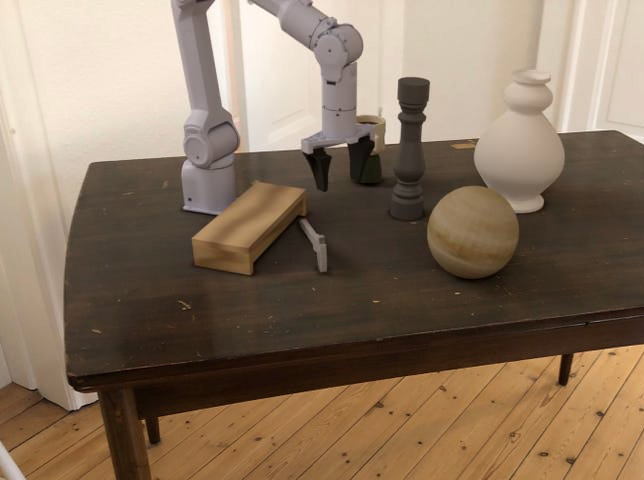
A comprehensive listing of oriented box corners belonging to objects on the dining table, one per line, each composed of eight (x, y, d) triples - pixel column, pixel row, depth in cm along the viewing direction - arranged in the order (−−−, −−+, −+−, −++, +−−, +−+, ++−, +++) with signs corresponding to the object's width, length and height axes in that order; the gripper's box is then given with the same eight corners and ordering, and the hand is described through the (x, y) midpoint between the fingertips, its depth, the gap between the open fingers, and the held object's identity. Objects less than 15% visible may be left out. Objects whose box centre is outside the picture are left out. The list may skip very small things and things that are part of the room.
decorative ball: (415, 255, 130) (420, 173, 121) (495, 250, 133) (506, 170, 124) (437, 298, 118) (444, 211, 109) (525, 292, 121) (539, 206, 113)
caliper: (327, 274, 123) (327, 240, 119) (320, 275, 123) (320, 241, 119) (305, 223, 139) (304, 191, 135) (299, 223, 139) (298, 192, 135)
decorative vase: (458, 207, 148) (470, 78, 133) (484, 178, 161) (498, 57, 147) (545, 225, 143) (568, 93, 128) (564, 193, 156) (587, 70, 142)
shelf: (194, 265, 123) (191, 238, 120) (258, 206, 144) (256, 181, 141) (250, 275, 121) (248, 247, 119) (306, 213, 142) (306, 189, 139)
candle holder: (389, 206, 147) (395, 76, 132) (420, 207, 147) (429, 76, 133) (391, 220, 142) (398, 85, 127) (424, 220, 142) (433, 86, 128)
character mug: (392, 188, 154) (395, 126, 147) (360, 192, 152) (361, 129, 144) (372, 170, 162) (374, 110, 155) (342, 174, 160) (342, 113, 152)
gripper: (319, 120, 115) (320, 202, 123) (388, 104, 123) (385, 182, 131) (292, 108, 119) (295, 189, 127) (360, 94, 127) (359, 170, 135)
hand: (339, 185), depth 129 cm, fingers open, 7 cm apart
